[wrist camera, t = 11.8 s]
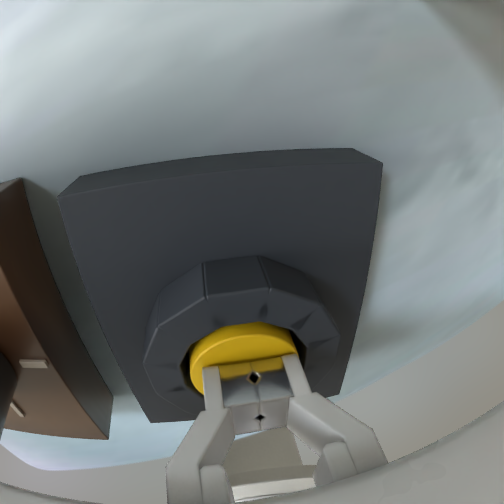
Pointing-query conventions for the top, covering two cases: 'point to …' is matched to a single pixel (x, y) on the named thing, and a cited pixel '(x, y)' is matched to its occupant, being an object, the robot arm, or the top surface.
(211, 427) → the robot arm
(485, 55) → the top surface
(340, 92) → the top surface
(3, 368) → the knob
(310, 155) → the button box
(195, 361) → the button
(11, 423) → the dial panel
